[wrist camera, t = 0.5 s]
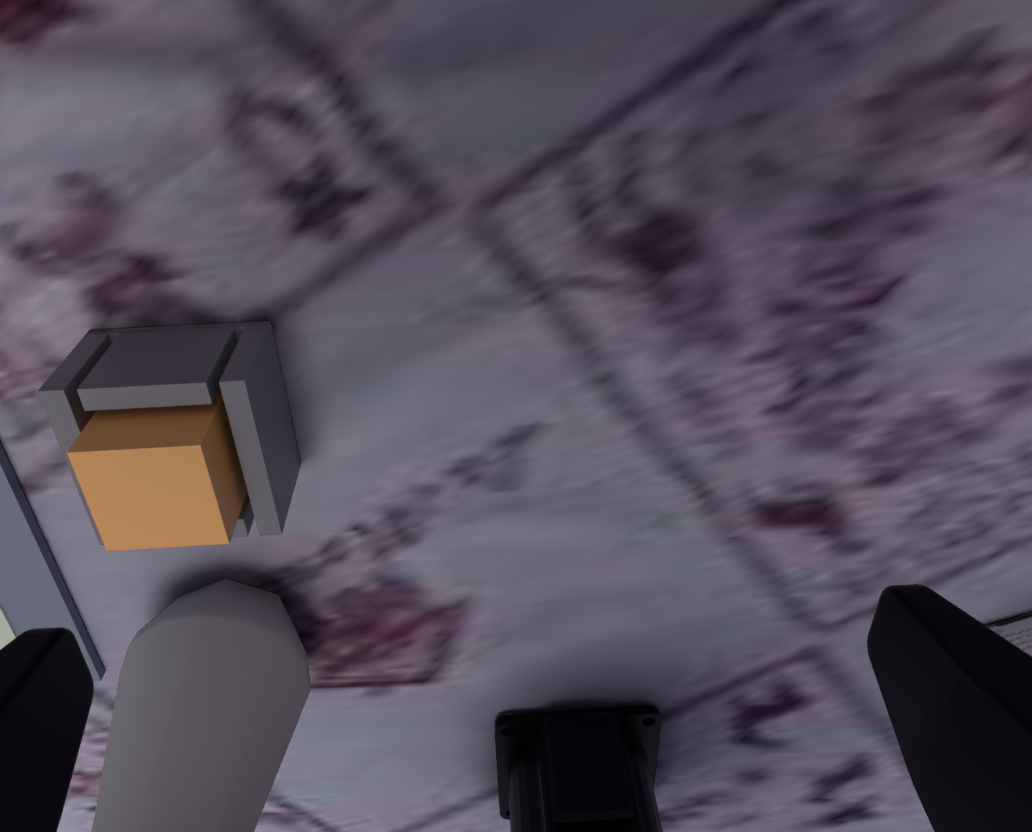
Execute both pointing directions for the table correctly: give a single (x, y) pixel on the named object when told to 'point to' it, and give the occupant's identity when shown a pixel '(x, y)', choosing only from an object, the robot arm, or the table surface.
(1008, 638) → the candy bar box
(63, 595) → the grey flat square slab
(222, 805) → the salt shaker
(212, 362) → the button housing
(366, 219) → the table surface
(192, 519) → the push button
